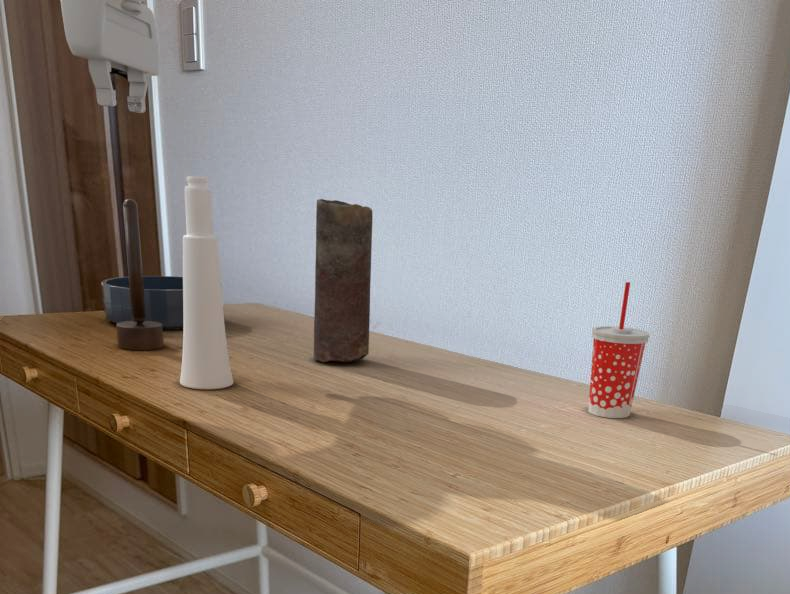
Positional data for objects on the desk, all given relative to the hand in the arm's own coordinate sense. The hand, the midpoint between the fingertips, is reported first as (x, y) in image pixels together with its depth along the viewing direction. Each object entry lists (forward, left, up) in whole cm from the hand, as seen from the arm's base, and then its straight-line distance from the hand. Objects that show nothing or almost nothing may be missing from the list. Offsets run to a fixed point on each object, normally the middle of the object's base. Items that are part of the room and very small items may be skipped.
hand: (122, 109), depth 103 cm
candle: (+28, -1, -29) cm, 40 cm away
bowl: (-4, +21, -29) cm, 36 cm away
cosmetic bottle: (+15, -19, -29) cm, 38 cm away
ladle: (0, 0, -29) cm, 29 cm away
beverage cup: (+61, -20, -29) cm, 71 cm away
